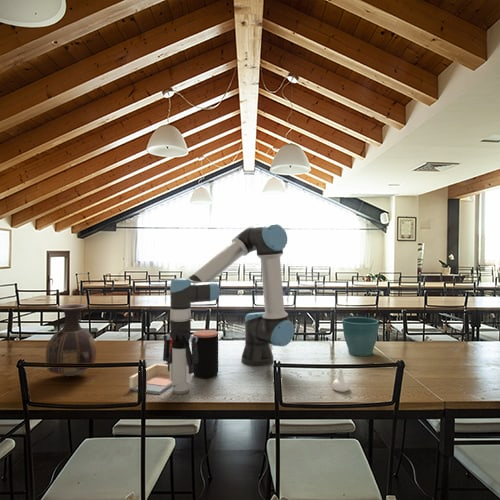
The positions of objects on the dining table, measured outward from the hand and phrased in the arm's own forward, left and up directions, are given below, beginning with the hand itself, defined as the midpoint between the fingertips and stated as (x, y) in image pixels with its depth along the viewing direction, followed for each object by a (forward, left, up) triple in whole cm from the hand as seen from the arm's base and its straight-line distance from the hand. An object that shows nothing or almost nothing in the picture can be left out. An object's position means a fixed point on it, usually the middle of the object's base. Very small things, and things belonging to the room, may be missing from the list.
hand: (180, 380), depth 143 cm
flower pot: (-62, -75, -4) cm, 97 cm away
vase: (+51, 0, -4) cm, 51 cm away
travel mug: (0, 0, -4) cm, 4 cm away
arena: (+12, -4, -4) cm, 14 cm away
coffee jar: (-1, -20, -4) cm, 20 cm away
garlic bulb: (-57, -21, -4) cm, 61 cm away
